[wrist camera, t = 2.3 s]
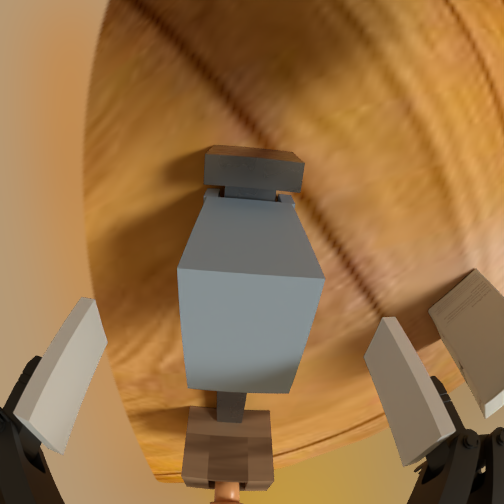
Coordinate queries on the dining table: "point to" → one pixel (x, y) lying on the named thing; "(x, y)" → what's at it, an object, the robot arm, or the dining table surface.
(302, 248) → the block
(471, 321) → the supplement box
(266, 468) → the end block
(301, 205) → the dining table surface
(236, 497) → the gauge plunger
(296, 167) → the rail
